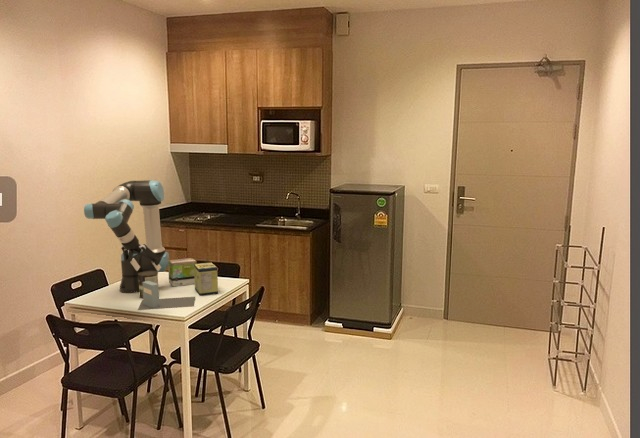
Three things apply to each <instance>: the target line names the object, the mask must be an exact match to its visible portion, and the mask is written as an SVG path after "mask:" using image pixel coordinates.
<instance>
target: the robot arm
mask: <svg viewBox="0 0 640 438" xmlns="http://www.w3.org/2000/svg"><path fill="white" fill-rule="evenodd" d="M164 199H165V192H164V186H163V184H162V183H161V182H160V181H158V180H152V179H150V180H149V179H148V180H146V179H145V180H129V181H126V182H123V183H121V184H119V185H117V186H115V187H114V188H113V189H112V192H110V193H109V194H107V195H106V196H104V197H103V198H100V200H98V201H97V202H95V203H92V202H91V203H87V204H85V205H84V208H83V213H84V216H85V218H86V219H89V220H100V219H101V220H105V222H106V224H107V225H108V227H109V228H110V229H111V231H112V232H113V234H114V235H115V237H116V238H117V239H118V241H119V243H121V246H122V247H121V248H120V249H121V251H122V253H121V254H120V257H121V258H120V263H121V264H120V265H121V275H122V276H121V280H120V283H119V284H120V285H119V292H120V293H124V294H131V293H139V276H138V273H140V272H143V271H157V272H158V273H164V272H166V270H167V269H168V268H169V266H168V263H169V260H170V254H169V252H168V251H166V249H165V247H164V246H163V243H162V231H161V220H160V218H161V217H160V208H159V207H160V206H161V204H162V202H163V201H164ZM133 202H139V206H140V207H142V212H143V222H144V232H145V234H144V235H145V243H143V244H140V241H139V238H138V237H137V236H136V235H135V232H134V231H133V230H132V228H131V227H130V225H129V224H128V222H129V220H130V218H131V215H132V214H133V212H134V208H135V206H134V203H133Z"/></svg>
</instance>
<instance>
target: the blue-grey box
mask: <svg viewBox="0 0 640 438" xmlns="http://www.w3.org/2000/svg"><path fill="white" fill-rule="evenodd" d="M142 283H143V299H142V300H143V302H144V304H145V305H147V306H150V307H152V308H155V307H159V299H160V292H159V291H160V289H159V283H158V284H157V283H154V282H151V281H145V282H142Z"/></svg>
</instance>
